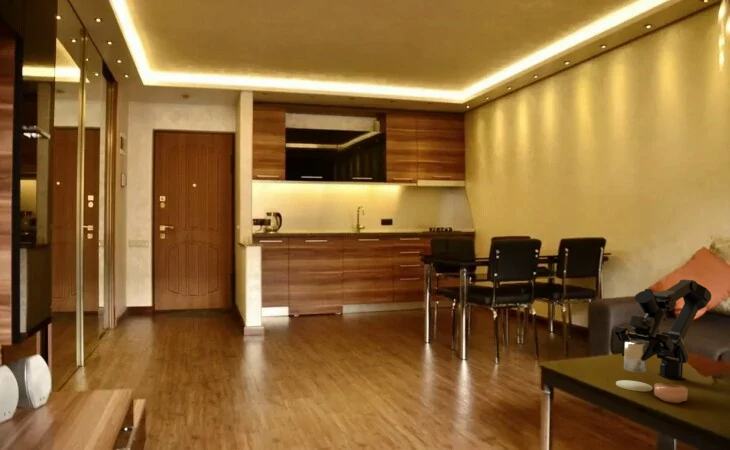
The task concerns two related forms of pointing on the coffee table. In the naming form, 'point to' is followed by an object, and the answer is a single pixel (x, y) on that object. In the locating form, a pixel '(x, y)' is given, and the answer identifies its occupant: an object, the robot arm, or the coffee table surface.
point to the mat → (634, 385)
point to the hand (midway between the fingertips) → (632, 358)
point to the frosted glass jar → (634, 356)
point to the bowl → (670, 392)
